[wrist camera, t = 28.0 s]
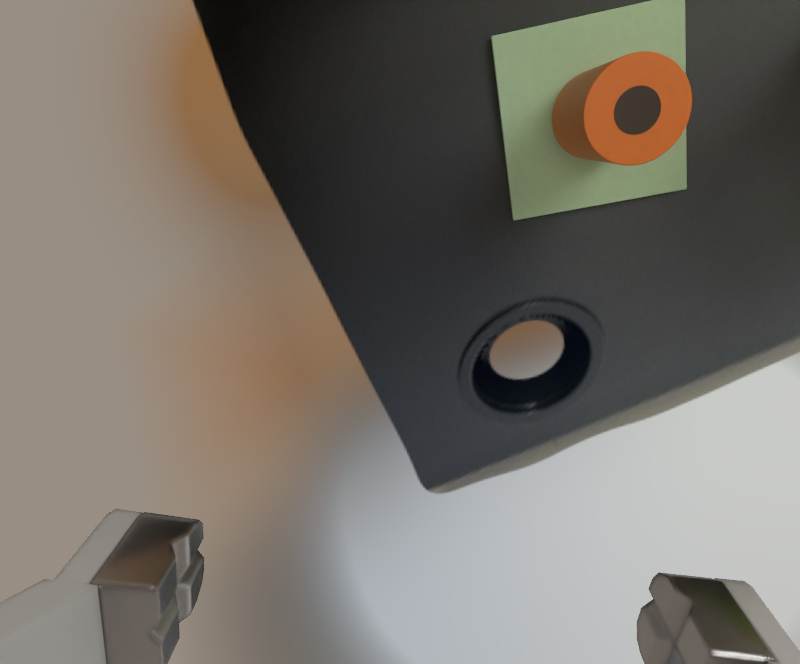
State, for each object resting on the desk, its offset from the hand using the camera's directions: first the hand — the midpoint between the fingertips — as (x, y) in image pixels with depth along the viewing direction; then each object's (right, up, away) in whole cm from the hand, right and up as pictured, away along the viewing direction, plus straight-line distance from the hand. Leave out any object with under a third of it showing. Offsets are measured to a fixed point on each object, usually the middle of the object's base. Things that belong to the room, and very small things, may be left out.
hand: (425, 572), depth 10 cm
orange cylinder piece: (+13, +19, +26) cm, 35 cm away
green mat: (+12, +19, +26) cm, 35 cm away
